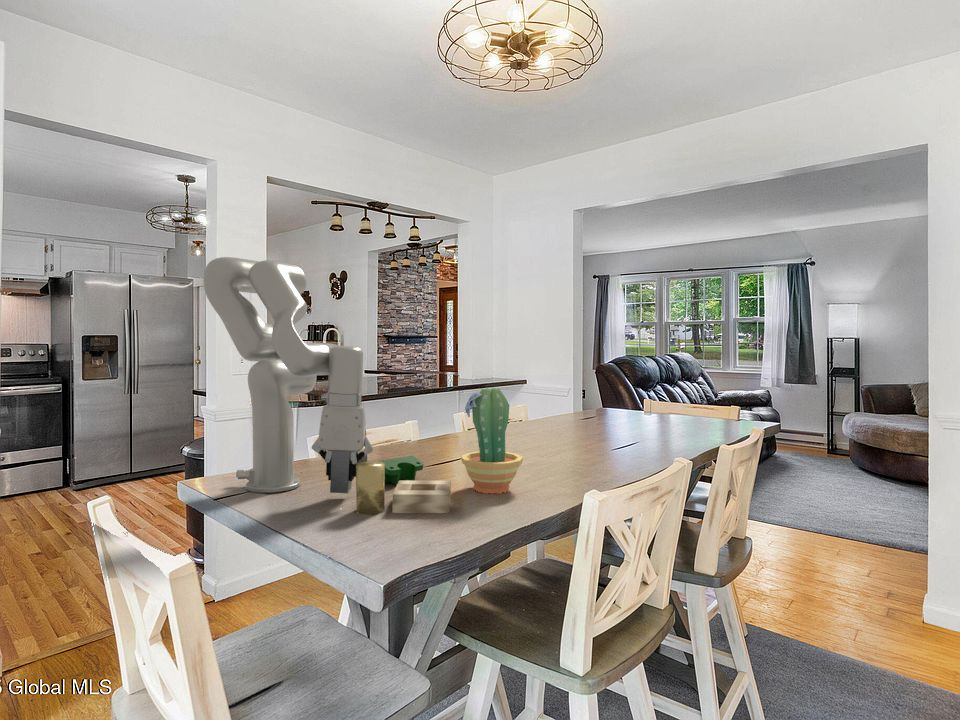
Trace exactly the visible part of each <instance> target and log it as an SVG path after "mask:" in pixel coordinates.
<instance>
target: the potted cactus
mask: <svg viewBox="0 0 960 720" xmlns="http://www.w3.org/2000/svg"><path fill="white" fill-rule="evenodd" d="M464 410H465V413H466V415H467V417H468V418H470V417H471V414H472V423H473V427H474V428H475V431H476V436H477V442H478V450H479V451H472V452H469V453H467V452H466V453H464V454H463V455H461V456H460V460H461V463H462V464H463V465H464V466H465V469H466V472H467V475H468V477H469V478H470V480H471V481H472V482H473V483H472V484H473V488H474V489H475V490H476V491H475V490H474V489H473V490H474V491H475V492H477V491H478V493H481V492H482V493H481V494H488V493H491V494H492V493H497V494H503V493H502V492H504V493H506V492H505V491H508V490H509V488H510V484H511V482H512V481H513V480H514V478H515V477H516V475H517V473H518V469H519V467H520V466H521V465H522V464H523V461H524V460H523V459H524V457H523V456H522V455H521V454H518V453H514V452H508V451H506V430H507V427H508V423H509V415H510V404H509V402H508V399H507V397H505V395H504V393H503V392H502V391H501V389H500V388H495V387H493V388H488V387H485V389H484V388H482V389H481V390H480V391H479V392H475V393H473V394H471V395H470V397H469V398H468V400H467V402H466V404H465V407H464ZM470 410H471V411H472V413H471V414H470ZM510 489H511V488H510ZM509 491H510V490H509ZM509 491H508V492H509ZM491 494H490V495H491ZM492 495H493V494H492Z"/></svg>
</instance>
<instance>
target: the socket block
mask: <svg viewBox="0 0 960 720" xmlns="http://www.w3.org/2000/svg"><path fill="white" fill-rule="evenodd" d="M451 481H452V480H416V479H415V480H407V479H404V480H399V482H398V484H397V486H396V485H395V488H394V491H393V493H392V514H450V510H449V509H450V508H451V507H450V506H451V498H452V494H451V492H452V490H451V489H452V487H451V485H452V484H451Z"/></svg>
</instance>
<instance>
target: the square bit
mask: <svg viewBox="0 0 960 720" xmlns="http://www.w3.org/2000/svg"><path fill="white" fill-rule="evenodd" d="M350 463H351V454H350V452H348V451H332V457H331V480H330V484H329V486H330V487H329V488H330V490H329V493H330V494H331V493H333V494H349V492H351V490H352V482H353V480H352V481H349V465H350Z"/></svg>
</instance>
